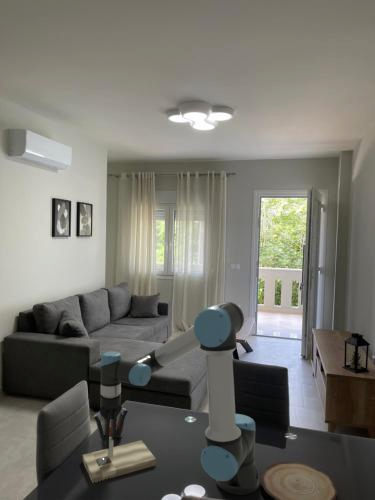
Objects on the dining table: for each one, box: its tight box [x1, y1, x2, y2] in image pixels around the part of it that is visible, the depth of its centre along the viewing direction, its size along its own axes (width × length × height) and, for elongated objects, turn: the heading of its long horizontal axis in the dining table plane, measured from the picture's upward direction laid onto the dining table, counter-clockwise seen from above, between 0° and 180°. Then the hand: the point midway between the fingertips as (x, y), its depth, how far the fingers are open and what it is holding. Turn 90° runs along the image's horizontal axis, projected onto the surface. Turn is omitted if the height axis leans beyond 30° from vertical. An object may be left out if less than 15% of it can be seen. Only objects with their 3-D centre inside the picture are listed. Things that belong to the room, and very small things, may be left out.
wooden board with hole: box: [82, 439, 157, 484], centre depth 150 cm, size 15×24×2 cm, turn 118°
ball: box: [97, 458, 108, 466], centre depth 147 cm, size 4×4×4 cm
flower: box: [103, 419, 125, 439], centre depth 169 cm, size 10×9×8 cm
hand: (110, 455), depth 148 cm, fingers closed
